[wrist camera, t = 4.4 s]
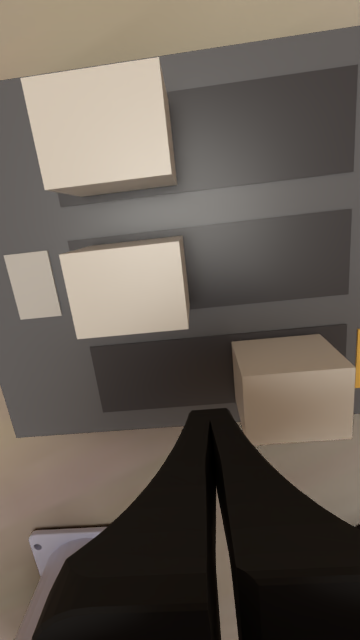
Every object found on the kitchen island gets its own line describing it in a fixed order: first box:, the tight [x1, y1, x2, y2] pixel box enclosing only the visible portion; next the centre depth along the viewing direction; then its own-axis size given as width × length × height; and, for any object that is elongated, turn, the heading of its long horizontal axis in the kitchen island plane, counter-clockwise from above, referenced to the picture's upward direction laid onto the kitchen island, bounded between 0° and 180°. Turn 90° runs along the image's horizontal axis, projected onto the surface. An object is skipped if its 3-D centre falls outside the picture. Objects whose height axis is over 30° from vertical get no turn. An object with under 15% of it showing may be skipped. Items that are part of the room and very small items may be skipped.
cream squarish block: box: [20, 57, 177, 197], centre depth 11 cm, size 3×4×4 cm
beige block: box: [231, 334, 356, 445], centre depth 14 cm, size 3×4×4 cm
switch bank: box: [0, 26, 360, 438], centre depth 15 cm, size 16×20×2 cm
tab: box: [59, 235, 190, 339], centre depth 13 cm, size 3×4×4 cm
